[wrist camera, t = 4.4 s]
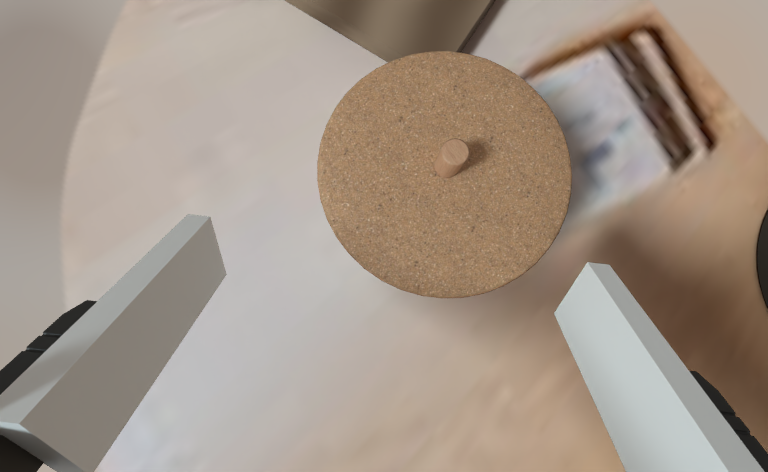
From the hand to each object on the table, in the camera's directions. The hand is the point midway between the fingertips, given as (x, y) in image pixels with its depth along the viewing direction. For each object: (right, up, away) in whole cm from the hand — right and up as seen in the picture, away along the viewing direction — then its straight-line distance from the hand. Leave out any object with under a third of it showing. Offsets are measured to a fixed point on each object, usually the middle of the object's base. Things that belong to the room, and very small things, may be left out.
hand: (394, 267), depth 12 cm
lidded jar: (+2, +3, +9) cm, 10 cm away
